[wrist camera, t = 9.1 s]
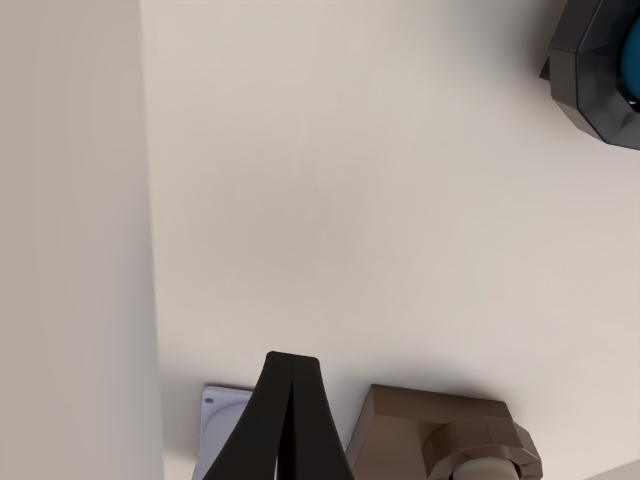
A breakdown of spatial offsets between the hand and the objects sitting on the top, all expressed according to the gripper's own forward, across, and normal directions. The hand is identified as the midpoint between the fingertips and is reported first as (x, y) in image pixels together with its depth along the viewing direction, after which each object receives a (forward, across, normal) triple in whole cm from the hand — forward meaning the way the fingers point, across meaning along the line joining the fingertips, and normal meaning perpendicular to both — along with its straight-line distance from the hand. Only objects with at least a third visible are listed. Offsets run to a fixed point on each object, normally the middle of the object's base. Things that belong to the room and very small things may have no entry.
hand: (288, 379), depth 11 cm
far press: (+10, -11, +17) cm, 22 cm away
